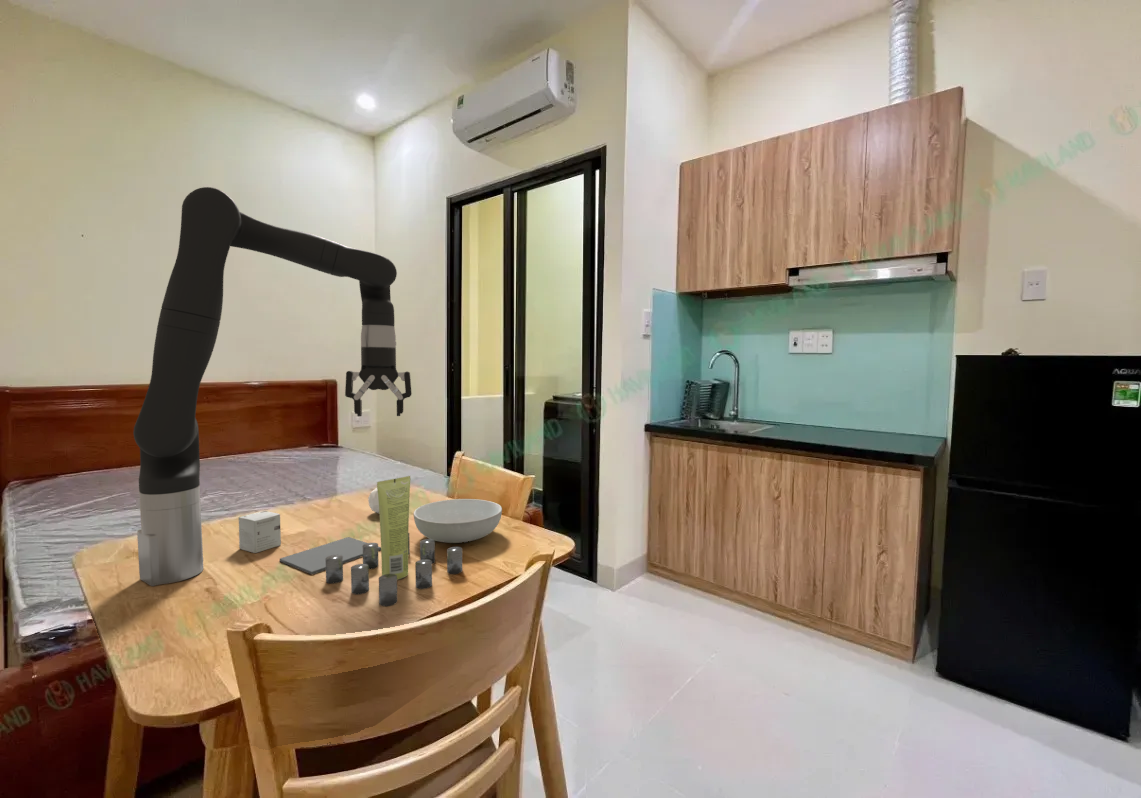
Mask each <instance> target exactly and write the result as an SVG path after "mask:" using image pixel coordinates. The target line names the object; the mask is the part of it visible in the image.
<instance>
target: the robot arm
mask: <svg viewBox="0 0 1141 798" xmlns="http://www.w3.org/2000/svg"><path fill="white" fill-rule="evenodd" d="M180 219H181V220H180V233H179V242H178V249H177V255H176V259H175V263H174V264H173V265H174V266H173V268H172V271H171V273H170V276H169V279H168V283H167V286H166V289H165V294H164V297H163V301H162V303H161V308H160V313H159V316H158V322H157V327H156V333H155V338H154V339H155V340H154V347H153V354H152V355H153V356H152V365H151V367H152V368H151V375H150V380H149V385H148V389H147V391H146V394H145V398H144V400H143V403H142V405H141V409H140V412H139V413H138V417H137V419H136V422H135V424H134V426H133V439H134V441H135V443H136V445H137V446H138V447H139V455H140V456H139V458H140V466H139V467H140V468H139V475H138V491H139V496H138V497H139V510H140V512H139V513H140V514H139V515H140V528H141V529H139V530H137V532H136V533H137V534H136V535H137V551H138V554H137V555H138V569H139V570H138V571H139V572H138V574H139V580H141V581H142V582H143V583H146V584H147V585H148V586H151V587H155V586H159V585H163V584H165V585H166V584H171V583H176V582H181V581H185V580H188V579H190V578H193V577H195V576H197V575H199V574H200V573H202V572H203V571H204V551H203V550H204V549H203V530H202V529H203V528H202V527H203V526H202V506H201V487H200V485H201V483H200V473H201V472H200V471H201V470H200V469H201V468H200V467H201V466H200V463H201V460H200V435H199V423H198V421H197V418H196V412H197V403H198V402H197V401H198V397H199V396H198V395H199V390H200V386H201V383H202V379H203V377H204V374H205V372H206V371H207V367H208V365H209V362H210V360H211V357H212V354H213V351H214V348H215V345H216V342H217V338H218V334H219V333H218V332H219V328H220V325H221V319H222V314H223V313H222V312H223V302H224V274H225V268H226V267H225V265H226V262H227V258H228V255H229V252H230V248H231V247H232V248H233V247H234V248H239V249H243V250H248V251H253V252H257V253H262V254H265V255H270V256H273V257H276V258H278V259H279V258H280V259H282V260H286V261H289V262H292V263H295V264H297V265H301V266H304V267H306V268H309V269H313V270H316V271H319V272H322V273H324V274H328V275H331V276H335V277H339V278H345V277H346V278H350V279H353V280H357V281H358V282H359V283H358V284H359V290H360V291H359V292H360V299H361V330H360V331H361V332H360V358H361V359H360V361H361V363H360V365H361V368H360V371H353V370H348V371H346V373H345V388H344V389H345V390H344V391H345V392H344V393H345V394H344V396H345V397H346V398H350V399H352V400H353V406H354V407H353V408H354V410H353V411H354V414H355V415H357V417H362V416H363V408H362V405H363V404H362V403H363V401H362V399H361V398H362V397H363V396H364V394H365V393H366V392H367V391H368V390H371V391H377V390H380V391H387V390H390V391H391V392H392V393H393V394H394V396H395V397H396V398H397V399H396V416H397V417H400V416H401V414H403V413H404V400H405V399H408V398H411V396H412V394H413V393H412V382H411V372H409V371H402V372H401V371H399V372H398V370H397V351H396V350H397V349H396V348H397V347H396V346H397V339H396V338H397V337H396V336H397V335H396V329H395V306H394V303H392V302H391V285H392V284H393V283H395V281H396V279H397V276H398V272H397V268H396V265H395V264H394V263H393V262H392V260H391V259H389V258H387V257H386V256H385V255H381V254H378V253H375V252H372V251H368V250H362V249H359V248H354V247H350V246H346V245H344V244H341V243H338V242H336V241H333V240H330V239H328V238H324V237H322V236H319V235H316V234H313V233H309V232H305V231H300V230H294V229H289V228H284V227H280V226H276V225H273V224H271V223H267V222H263V221H262V220H259V219H256V218H254V217H252V216H249V215H248V214H245V213H244V212H241V211H240V209H239V207H238V205H237V204H236V202H235V201H234V199H233V198H232V197H230V196H229V195H228V194H227V193H226V192H224V191H222V190H220V189H218V188H216V187H209V186H206V187H205V186H203V187H199V188H197V189H193V190H192V191H190V192H189V193H188V194H187V195H185V198H184V200H183V202H182V205H181V217H180ZM358 377H359V378H360V380H361V381H362V382H363V384H362V385H361V387H360V388H359V389H358V391H357V392H354V389H353V388H354V381H356V380H357V378H358ZM398 378H400V379H401V381H402V382H404V391H405V392H403V393H402V392H401V391H400V389H399V388H398V386H396V384H395V381H396V380H398Z"/></svg>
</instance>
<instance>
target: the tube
mask: <svg viewBox="0 0 1141 798" xmlns="http://www.w3.org/2000/svg"><path fill="white" fill-rule="evenodd" d="M376 488H377V490H378V500H379V527H380V528H379V529H380V530H379V531H380V547H381V550H380V551H381V552H380V554H381V555H380V557H381V576H382V575H385V574H395V575H397V580H401V579H404V578H405V577H407V576H408V574H409V555H408V533H409V527H410V526H409V524H410V523H409V521H410V495H411V493H410V491H411V475H407V476H402V477H396V478H392V479H386V480H379V481H376Z"/></svg>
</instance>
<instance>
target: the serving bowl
mask: <svg viewBox="0 0 1141 798" xmlns="http://www.w3.org/2000/svg"><path fill="white" fill-rule="evenodd" d="M502 512H503V508H502V506H501V505H500V504H499V503H496V502H493V501H490V500H485V499H478V498H476V499H475V498H454V499H453V498H452V499H443V500H438V501H434V502H429V503H425V504H423V505H420V506H418V507H417V508H416V509H415V510H414V511H413V519H414V523H415V526H416V529H417V530H418V531H419V533H420V534H422V535H423V536H424V537H425V538H426V539H433V540H435V542H440V543H449V544H462V542H464V543H468V541H469V542H471V541H475V540H476V541H477V540H479V539H482V538H484V537H486V536H488V535H490V534H491V533H492V532H493V531H494V530H495V529H496V528H497V527H498V525H499V524H500V521H501V519H502V514H503V513H502Z"/></svg>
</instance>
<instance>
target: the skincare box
mask: <svg viewBox="0 0 1141 798" xmlns="http://www.w3.org/2000/svg"><path fill="white" fill-rule="evenodd" d="M281 533H282V532H281V514H280V513H278V512H272V511H268V510H262V511H258V512H254V513H250V514H247V515H243V516H239V517H238V540H239V541H238V543H239V545H238V546H239V549H240V550H243V551H245V552H249V553H250V552H251V553H252V554H256V553H261V552H262V551H266V550H270V549H273V548H276V547H280V546H281V545H282V537H281V536H282V534H281Z"/></svg>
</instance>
